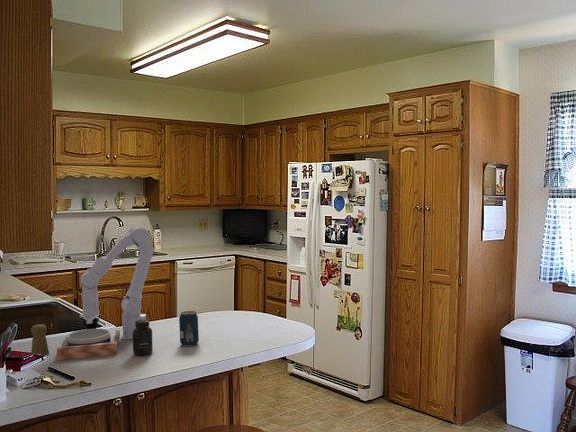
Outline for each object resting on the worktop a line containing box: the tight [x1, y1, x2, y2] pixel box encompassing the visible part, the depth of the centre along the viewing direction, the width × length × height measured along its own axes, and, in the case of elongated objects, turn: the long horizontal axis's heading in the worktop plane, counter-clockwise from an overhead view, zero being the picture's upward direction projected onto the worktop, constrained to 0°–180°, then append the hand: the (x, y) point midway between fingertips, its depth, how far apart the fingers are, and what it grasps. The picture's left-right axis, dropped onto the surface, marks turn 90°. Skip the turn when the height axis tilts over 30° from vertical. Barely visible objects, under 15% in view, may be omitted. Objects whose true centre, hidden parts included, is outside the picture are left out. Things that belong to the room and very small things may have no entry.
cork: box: [30, 323, 50, 356], centre depth 199 cm, size 6×6×11 cm
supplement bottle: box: [132, 319, 154, 357], centre depth 196 cm, size 7×7×12 cm
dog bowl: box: [66, 328, 112, 346], centre depth 204 cm, size 15×15×6 cm
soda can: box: [178, 310, 200, 347], centre depth 208 cm, size 7×7×12 cm
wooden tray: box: [56, 329, 121, 361], centre depth 208 cm, size 20×28×4 cm
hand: (91, 337), depth 213 cm, fingers closed
